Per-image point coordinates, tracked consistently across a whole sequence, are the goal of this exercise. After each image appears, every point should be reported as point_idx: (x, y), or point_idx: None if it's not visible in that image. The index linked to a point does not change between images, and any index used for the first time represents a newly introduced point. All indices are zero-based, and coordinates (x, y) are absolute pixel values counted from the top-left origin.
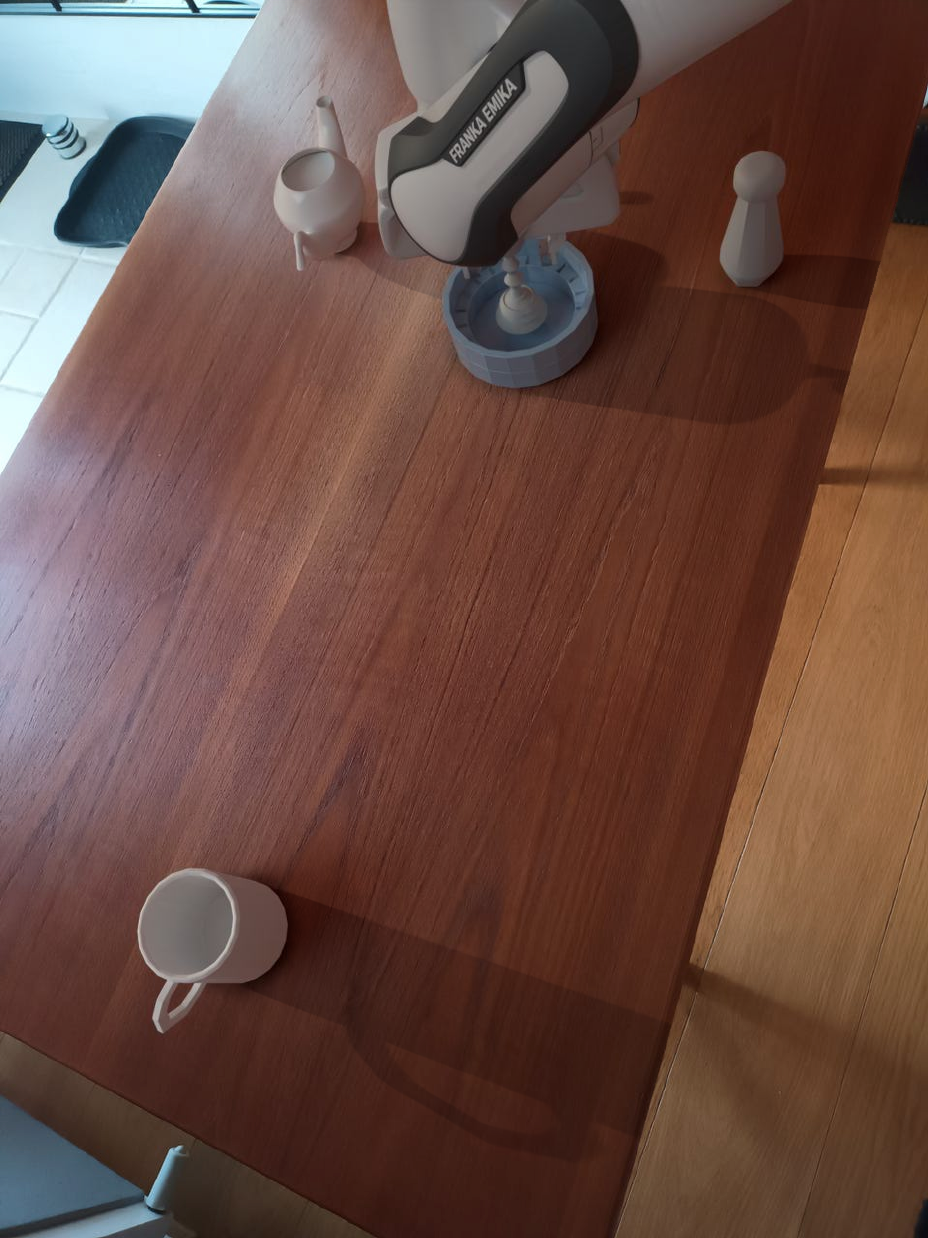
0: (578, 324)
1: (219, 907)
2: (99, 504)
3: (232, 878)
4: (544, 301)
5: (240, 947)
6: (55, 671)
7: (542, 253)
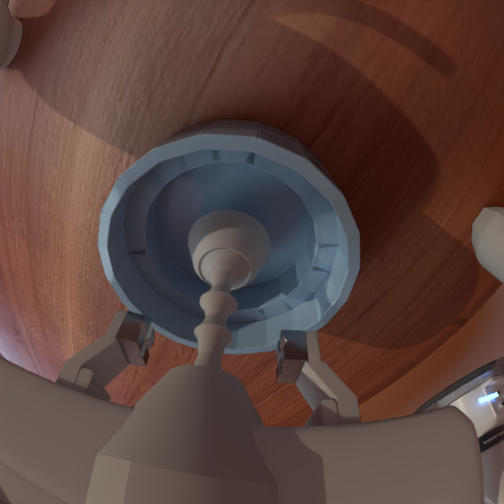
0: None
1: None
2: None
3: None
4: (268, 241)
5: None
6: (3, 347)
7: (283, 379)
